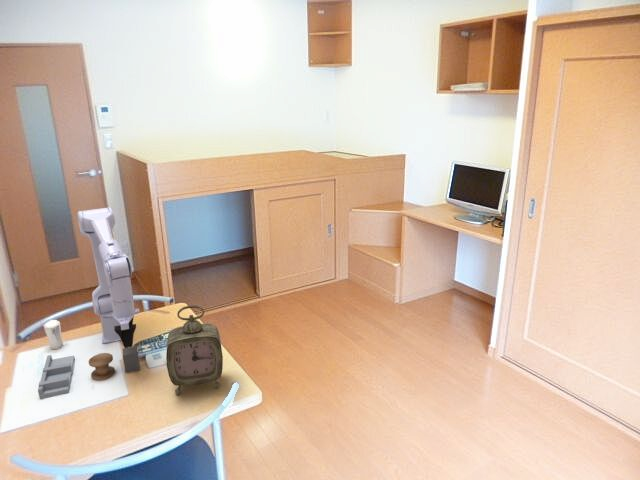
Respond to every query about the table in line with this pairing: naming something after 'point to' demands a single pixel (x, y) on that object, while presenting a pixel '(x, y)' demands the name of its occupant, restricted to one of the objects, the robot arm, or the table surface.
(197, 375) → the tabletop clock
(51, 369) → the grey slotted tray
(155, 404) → the table surface
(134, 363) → the dark grey block
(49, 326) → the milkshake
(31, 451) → the table surface
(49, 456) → the table surface
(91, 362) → the spool
